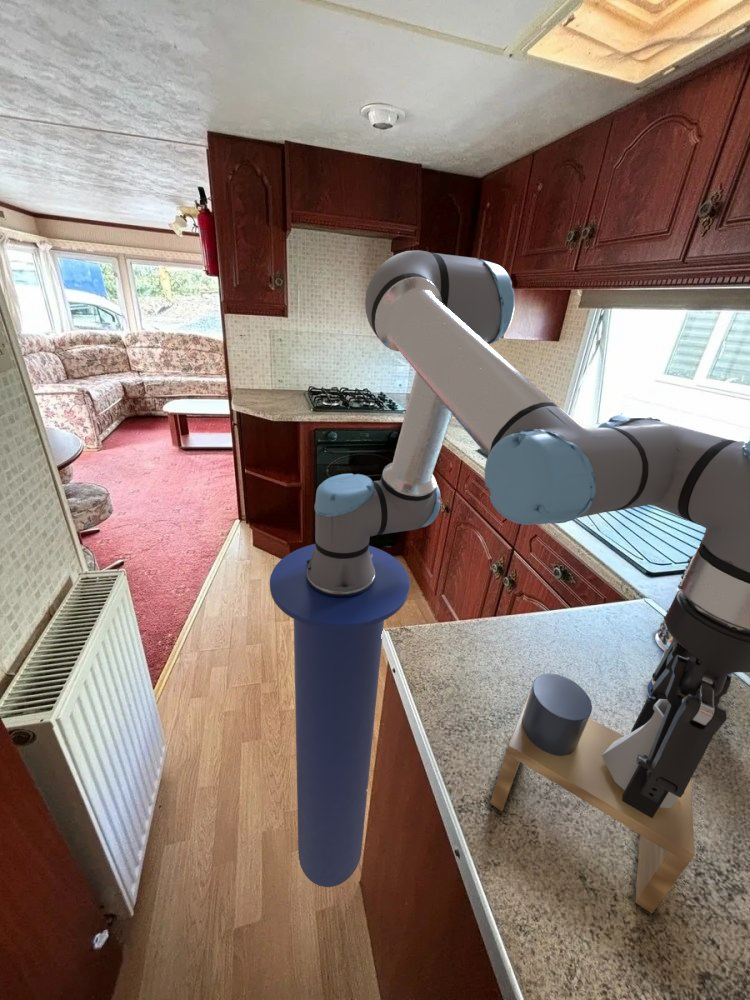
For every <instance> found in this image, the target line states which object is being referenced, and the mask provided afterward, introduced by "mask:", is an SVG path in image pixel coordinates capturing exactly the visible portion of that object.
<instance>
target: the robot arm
mask: <svg viewBox="0 0 750 1000" xmlns="http://www.w3.org/2000/svg"><path fill="white" fill-rule="evenodd" d="M515 297H516V296H515V289H514V288H513V281H512V279H511V277H510V275H509V273H508V272H507V271H506V269H505V268H503V266H501V265H499V264H497V263H496V262H492V261H488V260H485V259H482V258H477V257H469V256H462V255H461V256H460V255H453V254H444V253H437V252H429V251H425V250H419V249H417V250H406V251H402V252H400V253H397V254H395V255H393V256H391V257H389V258H388V259H386V260H385V261H384V262H383V263H381V264H380V265H379V267H378V268H376V270H375V271H374V273H373V275H372V276H371V278H370V281H369V282H368V286H367V287H366V292H365V301H364V302H365V303H364V305H365V314H366V318H367V322H368V325H369V326H370V328H371V330H372V332H373V333H374V335H375V336H376V337H377V338H378V339H379V341H380V342H381V343H382V344H383V345H384V346H385V347H386V348H388V349H389V350H391V351H394V352H399V353H400V354H401V355H402V356H403V357H404V358H405V360H406V361H407V362H408V364H409V365H410V366H411V368H413V369H414V371H415V374H414V377H413V382H412V386H411V389H410V393H409V397H408V401H407V403H406V408H405V413H404V415H403V420H402V425H401V429H400V433H399V436H398V439H397V443H396V446H395V447H396V448H395V451H394V456H393V460H392V462H390V463H388V464H387V465H385V466H384V467H383V470H382V474H381V477H380V480H374V481H373V480H372V478H370V477H369V476H367V475H365V474H360V473H356V474H353V473H341V474H336V475H334V476H333V475H332V476H330V477H328V478H326V479H325V480H324V481H322V482H321V483H320V484H319V485H318V487H317V488H316V493H315V503H314V512H315V513H314V515H315V516H314V517H315V518H314V519H315V522H314V525H315V528H314V529H315V531H314V532H315V534H314V537H315V539H314V541H315V542H314V544H315V549H314V552H313V554H312V557H311V559H310V560H307V564H308V568H307V582H308V584H309V585H310V587H311V588H312V589H313V590H315V591H316V592H318V593H320V594H322V595H325V596H329V597H334V598H348V597H354V596H357V595H360V594H362V593H364V592H366V591H367V590H369V589H370V588H371V587H372V585H373V583H374V580H375V569H374V565H373V563H372V559H371V558H372V557H373V553H372V554H371V555H370V552H369V546H370V537H374V536H379V535H387V534H393V533H400V532H401V533H402V532H407V531H415V530H418V529H421V528H426V527H428V526H430V525H431V524H432V523H433V522H435V520H436V519H437V517H438V515H439V512H440V509H441V500H440V498H441V491H440V488H439V485H438V484H437V479H436V477H435V475H434V470H435V467H436V464H437V461H438V458H439V456H440V453H441V450H442V446H443V444H444V441H445V438H446V436H447V432H448V429H449V426H450V424H451V420H452V418H453V417H454V418H455V420H456V421H457V422H458V423H459V424H460V426H461V427H462V428H463V429H464V431H465V432H466V433H467V434H468V436H470V437H471V439H472V440H473V441H474V442H475V444H476V445H477V446H478V447H479V448H480V450H481V451H482V452H483V453H484V454H485V456H487V459H486V462H485V465H484V485H485V487H486V488H487V489H488V490H489V491H488V492H489V494H490V496H489V501H490V503H491V505H492V506H493V508H494V509H495V510H496V511H497V512H498V513H499V515H501V516H502V517H503V518H504V519H506V520H508V521H509V522H511V523H514V524H518V525H522V526H523V525H525V526H531V525H532V526H533V525H546V524H564V523H565V524H566V523H567V522H571V521H574V520H577V519H579V518H584V517H588V516H593V515H598V514H603V513H610V512H618V511H624V510H629V509H634V508H640V507H644V506H652V507H655V508H658V509H660V510H663V511H665V512H667V513H670V514H672V515H674V516H677V517H679V518H682V519H683V520H686V521H689V522H691V523H694V524H697V525H701V526H702V527H704V528H705V531H704V534H703V536H704V537H703V536H702V537H703V538H702V537H701V541H700V543H699V545H698V546H697V547H696V549H695V552H694V554H693V555H692V556H693V558H692V560H691V562H690V564H689V563H688V564H689V567H688V569H687V571H686V573H685V575H684V577H683V580H682V579H681V581H682V582H681V581H680V582H681V588H682V589H680V590H679V591H678V592H677V591H676V593H675V596H674V598H673V600H672V602H671V605H670V606H669V607H668V609H669V611H668V613H667V612H666V614H667V615H666V614H665V616H666V617H665V624H666V627H667V629H668V631H669V633H670V634H671V636H672V637H673V638H674V639H673V640H672V642H671V644H670V646H669V648H668V649H667V651H666V653H665V655H664V656H663V658H662V657H661V658H662V660H661V659H660V660H661V662H660V661H659V662H660V664H659V663H658V664H659V665H658V664H657V666H658V667H657V666H656V668H657V669H656V668H655V670H656V671H655V670H654V672H655V673H654V672H653V673H652V675H651V678H652V677H653V681H655V683H654V685H653V686H652V687H651V688H650V695H651V696H653V698H650V697H649V696H647V697H646V701H645V702H644V704H643V706H642V708H641V710H640V712H639V714H638V715H637V718H636V720H635V722H634V724H633V726H632V728H631V730H630V732H629V733H631V732H633V731H635V730H636V729H638V728H639V727H641V726H643V725H644V724H646V723H647V722H648V721H649V720H650V719H651V718H652V716H653V714H654V712H655V711H654V709H653V706H654V705H655V703H656V702H657V701H658V700H659V699H667V700H668V702H669V704H668V706H667V709H666V711H665V714H664V717H663V719H662V722H661V724H660V727H659V730H658V732H657V735H656V737H655V740H654V743H653V745H652V748H651V750H650V753H649V756H646V755H644V756H641V755H639V754H638V757H637V764H639V765H638V767H637V769H636V771H635V773H634V774H633V776H632V778H631V780H630V782H629V784H628V785H627V787H626V789H625V791H624V793H623V795H622V801H623V802H625V803H626V804H628V805H630V806H632V807H633V808H635V809H637V810H638V811H640V812H642V813H644V814H645V815H647V816H649V817H650V818H653V817H654V815H655V813H656V812H657V810H658V808H659V807H660V805H661V804H662V802H663V800H664V799H665V797H666V796H667V794H668V792H670V793H672V794H674V795H676V796H678V797H682V795H683V794H684V791H685V789H686V787H687V785H688V783H689V781H690V780H691V781H692V777H693V776H694V774H695V772H696V770H697V768H698V766H699V764H700V762H701V760H702V759H703V757H704V755H705V753H706V751H707V749H708V747H709V745H710V744H711V741H712V740H713V737H714V736H715V734H716V733H717V732H718V731H719V730H720V729H721V727H723V725H724V724H725V723H726V722H727V720H728V715H727V714H728V713H727V711H726V710H725V709H723V708H721V707H719V706H718V705H719V703H720V700H721V698H722V697H723V696H724V695H726V694H727V693H728V691H729V689H730V685H731V683H732V675H731V676H729V675H727V674H729V673H732V674H736V673H746V674H747V673H750V437H749V438H748V439H746V440H745V441H741V440H740V441H738V440H734V439H728V438H724V437H721V436H716V435H713V434H710V433H705V432H701V431H698V430H693V429H691V428H686V427H683V426H678V425H675V424H671V423H668V422H664V421H661V420H660V419H659V418H655V417H651V416H650V417H642V416H637V415H631V414H617V415H614V416H612V417H610V418H609V420H607V421H606V422H603V423H601V424H600V425H598V427H586V426H583V425H582V424H580V423H579V422H578V421H576V420H575V419H574V418H573V417H572V416H571V415H569V413H567V412H566V411H565V410H564V409H562V408H561V407H560V406H558V405H557V404H556V403H555V402H554V401H552V400H551V398H549V397H548V396H547V395H546V394H545V393H543V391H541V390H540V389H539V388H538V387H537V386H536V385H535V384H533V383H532V381H530V380H529V379H528V377H526V376H524V375H523V374H522V373H521V372H520V371H519V370H518V369H517V368H516V367H515V366H513V365H512V364H511V363H510V362H509V361H507V359H505V358H504V357H503V356H502V355H500V353H498V351H496V350H495V349H494V348H493V347H492V346H491V345H490V344H494V343H496V342H499V340H500V339H501V338H503V337H504V336H505V334H506V333H507V332H508V330H509V328H510V325H511V324H512V320H513V317H514V312H515V300H516V299H515ZM686 696H687V697H686ZM685 697H686V698H685Z"/></svg>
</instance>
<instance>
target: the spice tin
mask: <svg viewBox="0 0 750 1000" xmlns="http://www.w3.org/2000/svg"><path fill="white" fill-rule="evenodd" d="M530 690H531V692H530V691H529V692H530V695H529V694H528V695H529V698H528V702H527V705H526V708H525V711H524V714H523V717H522V725H523V729H524V731H525V733H526V735H527V736H528V738H529V739H530V740H531V741H532V742H533V743H534V744H535V745H536V746H537V747H538V748H540V749H541V750H543V751H545V752H547V753H549V754H552V755H557V756H566V755H569V754H571V753H573V752H574V751H575V749H576V748H577V745H578V743H579V741H580V738H581V736H582V733H583V731H584V729H585V726H586V724H587V721H588V719H589V718H590V717H591V714H592V711H593V704H592V701H591V699H590V696H589V695H588V694H587V692H586V691H585V689H583V688H582V687H581V685H580V684H577V682H575V681H573V680H572V679H570V678H568V677H566V676H563V675H560V674H557V673H543V674H540V675H538V676H537V677H536V678H535V679H534V681H533V683H532V685H531V688H530Z"/></svg>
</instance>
